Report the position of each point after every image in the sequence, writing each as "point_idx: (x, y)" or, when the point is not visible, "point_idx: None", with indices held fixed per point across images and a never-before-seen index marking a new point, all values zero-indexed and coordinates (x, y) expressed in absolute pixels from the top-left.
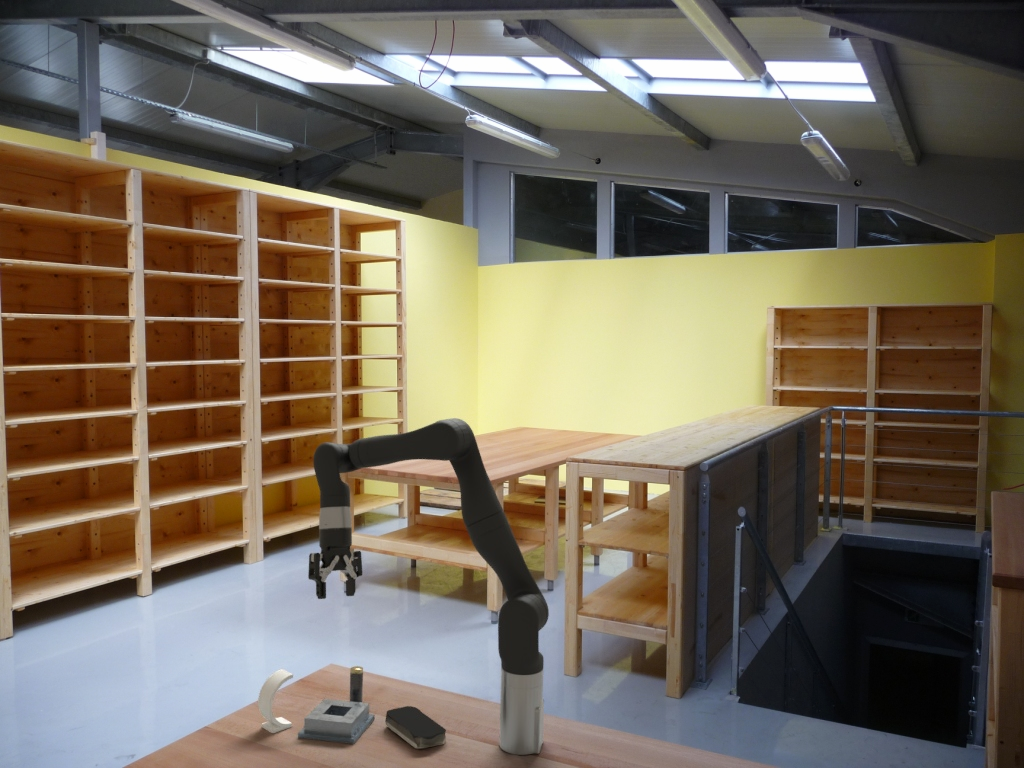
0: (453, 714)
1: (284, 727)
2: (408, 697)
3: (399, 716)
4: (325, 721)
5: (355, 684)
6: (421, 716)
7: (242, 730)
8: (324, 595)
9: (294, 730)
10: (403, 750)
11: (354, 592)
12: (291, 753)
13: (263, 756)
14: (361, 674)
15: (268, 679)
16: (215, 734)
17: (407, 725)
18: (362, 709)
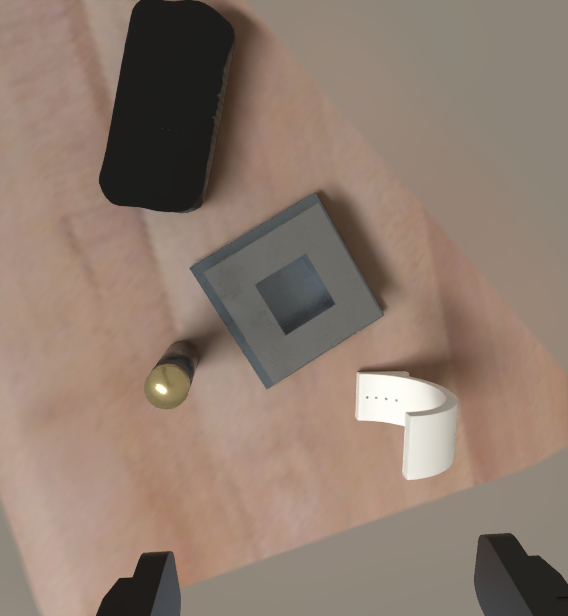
0: (4, 131)
1: (378, 372)
2: (27, 313)
3: (182, 159)
4: (353, 266)
5: (187, 361)
6: (129, 121)
7: None
8: (512, 550)
9: (364, 351)
10: (251, 76)
11: (122, 583)
12: (432, 259)
13: (477, 289)
14: (163, 363)
15: (447, 462)
16: (485, 448)
17: (205, 97)
18: (243, 252)
